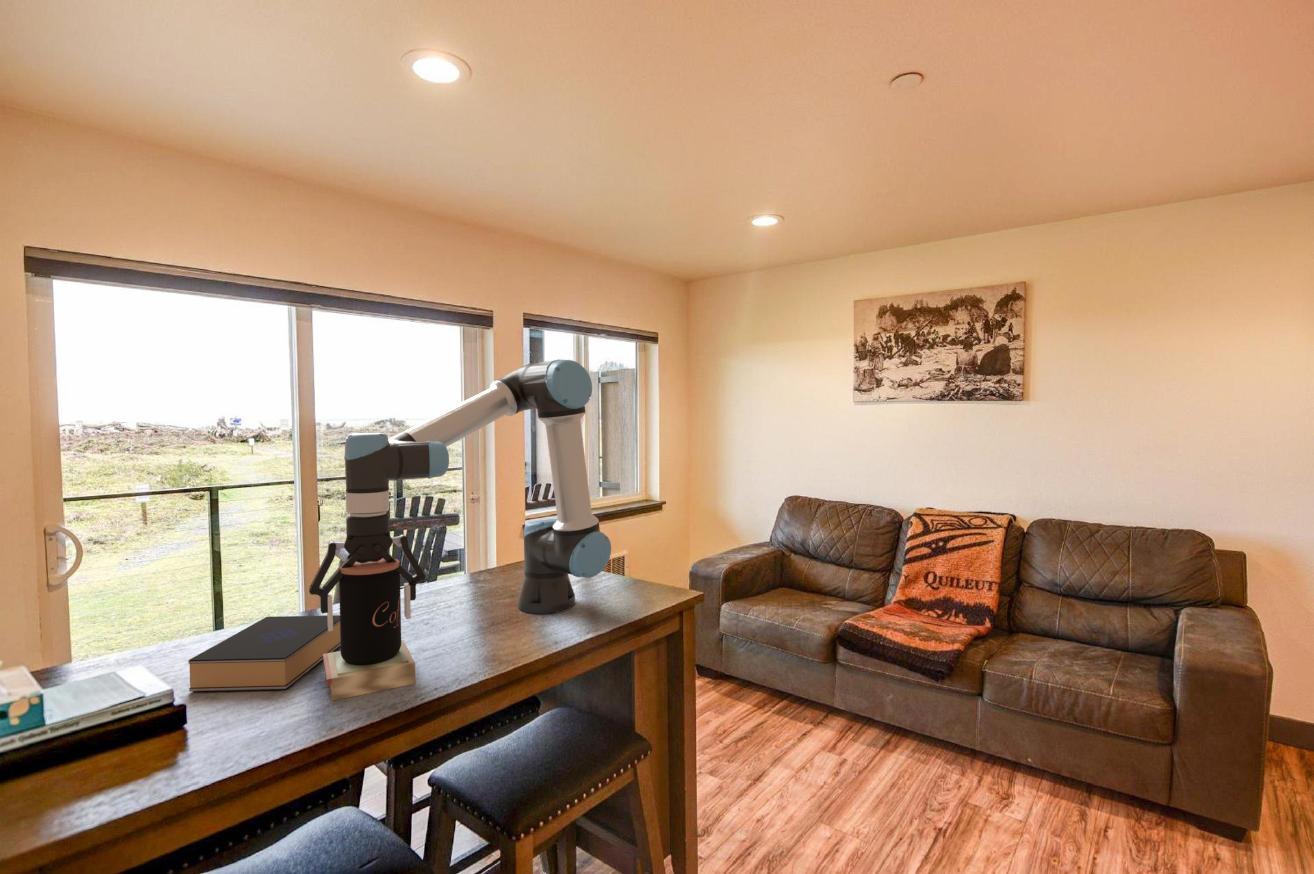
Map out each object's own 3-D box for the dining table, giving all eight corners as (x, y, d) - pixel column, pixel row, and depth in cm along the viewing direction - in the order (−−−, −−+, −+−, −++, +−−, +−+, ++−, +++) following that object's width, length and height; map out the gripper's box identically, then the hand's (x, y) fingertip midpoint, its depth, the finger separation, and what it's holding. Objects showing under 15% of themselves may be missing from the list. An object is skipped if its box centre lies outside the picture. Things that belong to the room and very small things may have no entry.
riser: (403, 659, 130) (403, 638, 130) (415, 683, 118) (415, 661, 118) (323, 674, 123) (322, 652, 122) (327, 701, 110) (326, 677, 110)
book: (188, 695, 114) (187, 660, 114) (267, 645, 139) (266, 616, 139) (286, 693, 115) (285, 657, 115) (346, 644, 140) (346, 615, 140)
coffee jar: (378, 668, 114) (376, 571, 114) (327, 664, 116) (325, 568, 116) (412, 647, 125) (411, 558, 124) (365, 644, 127) (363, 556, 126)
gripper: (431, 506, 129) (433, 607, 130) (292, 516, 116) (295, 628, 117) (439, 510, 123) (441, 617, 123) (292, 522, 110) (295, 640, 111)
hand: (370, 623), depth 120 cm, fingers open, 13 cm apart
